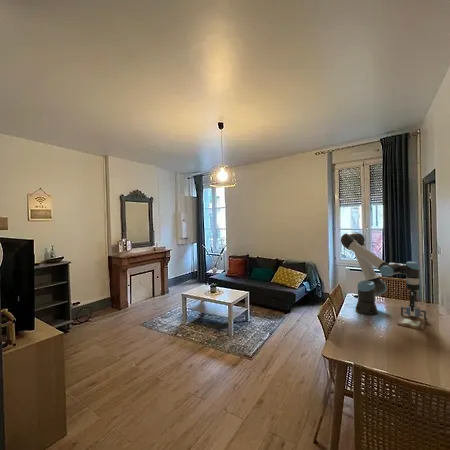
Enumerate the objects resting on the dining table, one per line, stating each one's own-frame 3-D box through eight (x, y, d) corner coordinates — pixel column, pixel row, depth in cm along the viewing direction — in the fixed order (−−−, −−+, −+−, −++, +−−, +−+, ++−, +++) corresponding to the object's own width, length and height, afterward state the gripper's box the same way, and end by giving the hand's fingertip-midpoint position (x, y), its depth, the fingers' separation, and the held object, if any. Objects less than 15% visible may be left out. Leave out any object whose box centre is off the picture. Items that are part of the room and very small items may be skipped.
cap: (403, 314, 181) (403, 306, 181) (404, 311, 187) (404, 303, 187) (422, 317, 174) (422, 310, 174) (423, 314, 180) (423, 306, 180)
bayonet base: (397, 324, 171) (397, 314, 171) (402, 313, 191) (402, 303, 191) (424, 330, 162) (423, 319, 162) (426, 317, 181) (426, 308, 181)
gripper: (417, 288, 168) (418, 319, 169) (420, 280, 187) (421, 309, 187) (404, 286, 173) (405, 317, 174) (408, 279, 192) (409, 307, 192)
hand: (413, 313), depth 180 cm, fingers open, 13 cm apart
